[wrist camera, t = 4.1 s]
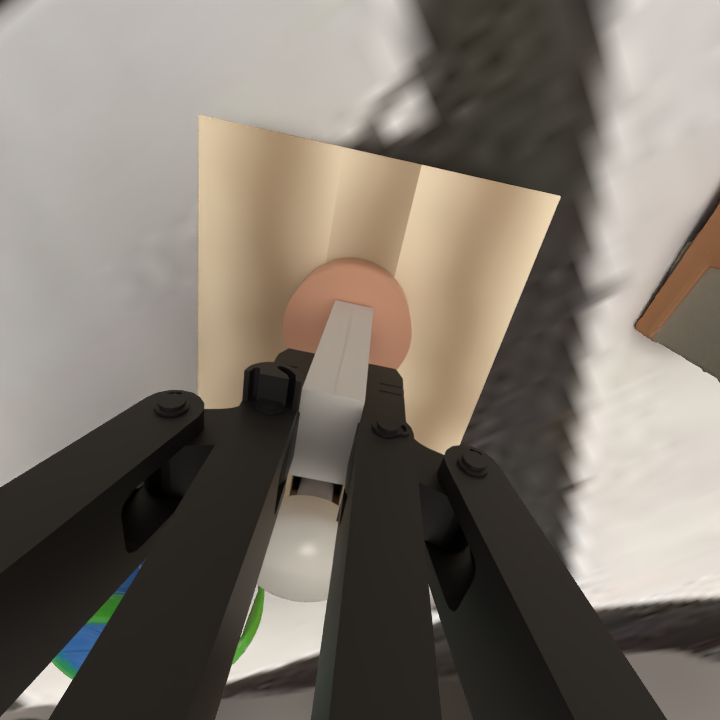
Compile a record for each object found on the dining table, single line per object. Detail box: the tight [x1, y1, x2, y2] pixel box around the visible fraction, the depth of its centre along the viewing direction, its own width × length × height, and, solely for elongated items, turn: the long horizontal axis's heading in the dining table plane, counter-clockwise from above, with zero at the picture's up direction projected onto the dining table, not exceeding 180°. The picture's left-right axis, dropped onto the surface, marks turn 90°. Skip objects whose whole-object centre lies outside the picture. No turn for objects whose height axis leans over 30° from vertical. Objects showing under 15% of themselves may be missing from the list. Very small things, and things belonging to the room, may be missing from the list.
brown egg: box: [283, 258, 412, 370], centre depth 18 cm, size 5×5×6 cm
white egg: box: [257, 477, 340, 602], centre depth 21 cm, size 5×5×6 cm
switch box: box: [198, 115, 561, 506], centre depth 23 cm, size 14×24×6 cm, turn 169°
